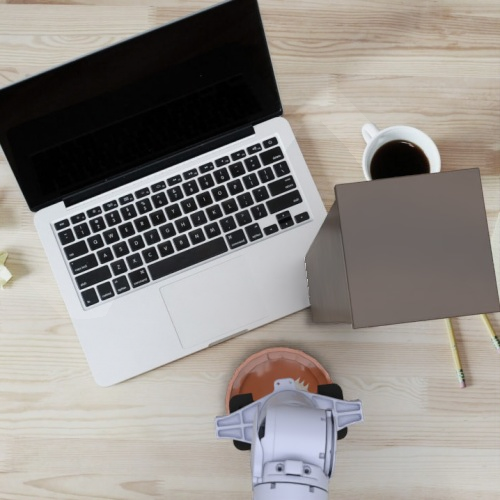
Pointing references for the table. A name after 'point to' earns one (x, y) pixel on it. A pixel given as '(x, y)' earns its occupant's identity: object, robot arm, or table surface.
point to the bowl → (275, 372)
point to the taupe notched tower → (403, 252)
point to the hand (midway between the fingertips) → (286, 408)
